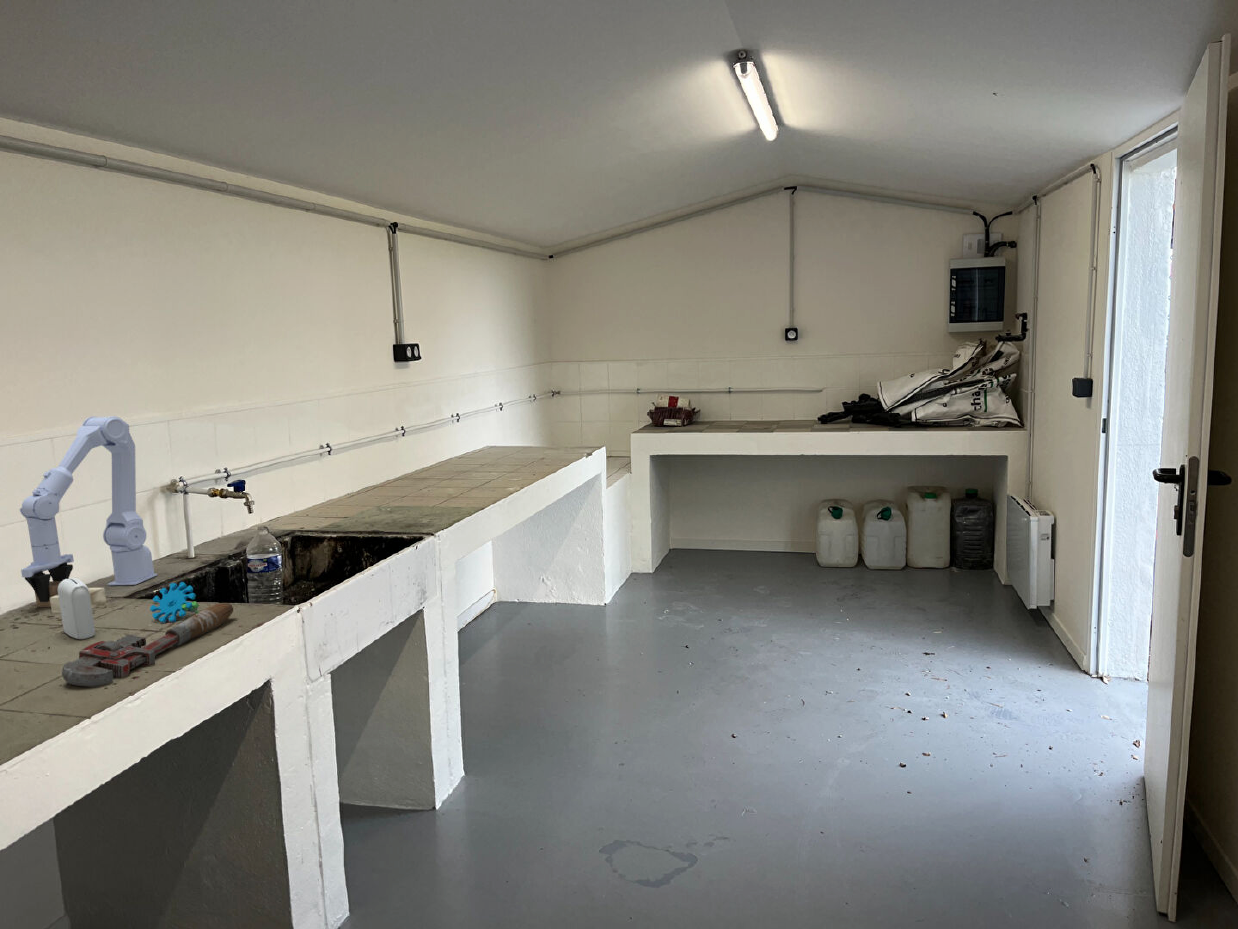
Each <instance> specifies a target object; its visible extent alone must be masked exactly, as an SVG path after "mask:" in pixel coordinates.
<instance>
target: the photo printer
mask: <svg viewBox="0 0 1238 929" xmlns="http://www.w3.org/2000/svg"><path fill="white" fill-rule="evenodd" d="M88 588H89V587H88V586H87V585H86V584H85V583H84V582H83V581H82V580H80V579H79V578H77V577H69V579H65V580H63V581H62V582H61V583H60V584H59V586H58V596H59V603H60V610H61V613H60V615H61V616H60V617H61V622H62V628H63V632H64V633H65V634H66V635H68V636H70V637H72V638H74V639H76V640H84V639H89V638H91V637H94V635H96V627H95V621H94V614H93V608H92V606H91V599H90V593H89V589H88Z"/></svg>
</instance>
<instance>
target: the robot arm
mask: <svg viewBox="0 0 1238 929" xmlns="http://www.w3.org/2000/svg"><path fill="white" fill-rule="evenodd" d="M101 446H102V447H104V448H105V449H106V450H107V451H108V452H110V453H111V514H109V516H108V517H107V518H106V523H105V524H106V525H105V528H104V530H103V534H102V539H103V541H104V542H105V544H106V545H107V546H109V549H110V552H111V558H112V559H111V560H112V566H113V574H114V580H113V581H110V582H109V583H107V586H134V585H135V586H136V585H137V584H138V585H139V584H140V583H142V582H143V583H144V582H145V581H147V580H150V579H152V578H154V577H156V576H158V574H157V573H155V570H154V564H153V563H154V562H153V556H152V551H151V549H150V548H149V547H148V546H146V545H144V544H145V542H146V540H147V531H146V529H145V527H144V521H143V518H142V517H141V515H139V514H138V513H137V510H136V509H137V507H136V506H137V498H136V495H137V493H136V491H137V490H136V487H137V486H136V485H137V482H136V480H137V478H136V444H135V442H134V439H133V437H132V436H131V432H130V425H129V424H128V423H127V422H126V421H124V420H123V418H121V417H118V416H115V415H114V416H106V417H105V416H90V417H88V418H86V419H85V420H84V421H83V422H82V424H81V426H80V427H79V428H78V429H77V434H76V437H75V438H74V440H73V441H72V443H71V445H70V447H69V448H68V450H67V452H66V453H65V454H64V456H63V459H62V460H61V461H60V462H59V465H58V466H57V467H53V468H50V469H48V471H44V473H43V475H42V477H44V478H42V480H41V481H40V483H39V484H38V486H37V487H36V489H35V488H34V489H33V490H32V492H31V493H32V495H29V496H27V497H26V498H24V500H23V502H22V504H21V508H19V512H20V514H21V516H23V517H24V518H25V519H26V523H27V528H28V536H29V541H30V542H29V543H30V547H31V553H32V562H30V565H28V566H27V567H24V568H22V569H21V570H20V572H21V577H22V578H24V580H25V581H26V582H27V583H28V584H29V585H30V587H31V588H32V589H33V591H34V594H35V593H36V595H37V597H38V599H39V601H40V602H48V601H49V599H50V594H49V582H50V580H52V581H63V580H65V579H69V578H70V576H71V573H72V571H73V569H74V566H73V564H70V563H74V562H75V561H74V555H73V553H71V554H70V553H69V554H63V555H62V554H61V548H60V542H59V536H58V529H57V523H56V515H57V514H58V513H60V512H59V511H60V502H61V499H62V498H63V496H64V495H65V494H66V493H67V491H68V489H69V488H70V487H71V485H72V483H73V482H74V476H73V473H74V472H75V470H76V469H78V467H79V466H80V464H81V463H82V462H83V461H84V459H85V458H86V457H87V455H88V454H89V453H90V452H91V450H92V449H95V448H98V447H101ZM45 571H48V572H49V573H46V572H45Z"/></svg>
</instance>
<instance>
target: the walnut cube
mask: <svg viewBox="0 0 1238 929" xmlns="http://www.w3.org/2000/svg"><path fill="white" fill-rule="evenodd" d="M61 582H62V581H53V580H52V581H50V582H49V594H50V598H51V597H53V596H56V595H58V586H59V584H60V583H61ZM34 595H35V597H34V598H35V602H36V607H37V608H51V603H50V599H49V601H48V602H40V601H39V599H38V597H37V595H36V593H35V592H34Z"/></svg>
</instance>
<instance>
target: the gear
mask: <svg viewBox="0 0 1238 929" xmlns="http://www.w3.org/2000/svg"><path fill="white" fill-rule="evenodd" d="M193 591H194V588H193V586H192V585H191V584H190V585H188V586H187V584H186V583H185V582H183V581H181V582H179V585H178V584H177V583H175V582H171V583H170V584H169V590H168V589H167V588H166V587H162V588H161V589H159V593H161V594H162V598H160V597H159V596H158V595H155V596H154V597H153V598H152V601H153V602H154V603H157V604H159V605H158V606H156V605H155V604H152V605H151V606H150V608H149V611H151V612H153V613H152V618H153V619H154V620H158V621H160V623H162V624H166V622H167V620H168V621H169V623H175V622H176V621H177V615H178V616H179V617H181V618H184V617H185V616H186V615H187V612H188V613H191V614H192V613H195V614H197V613H199V612H200V611H199V610H198V608H199V607H200V604H199V603H198V602H197V601H192V602H191V601H187V599H191V600H195V599H196V596H197V594H196V593H194V592H193ZM186 593H188V594H186ZM157 611H159V612H157Z"/></svg>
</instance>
